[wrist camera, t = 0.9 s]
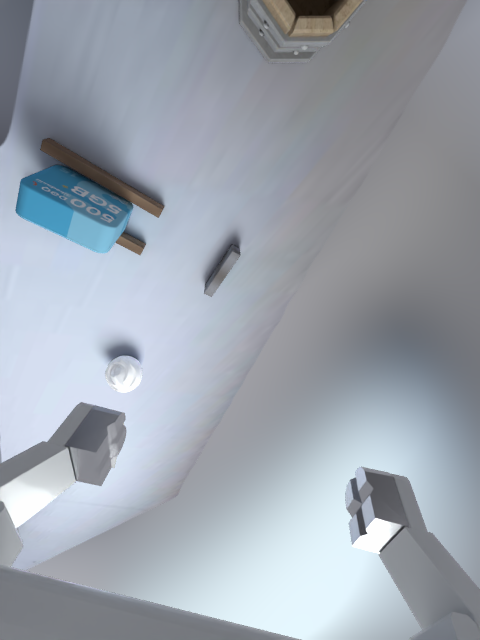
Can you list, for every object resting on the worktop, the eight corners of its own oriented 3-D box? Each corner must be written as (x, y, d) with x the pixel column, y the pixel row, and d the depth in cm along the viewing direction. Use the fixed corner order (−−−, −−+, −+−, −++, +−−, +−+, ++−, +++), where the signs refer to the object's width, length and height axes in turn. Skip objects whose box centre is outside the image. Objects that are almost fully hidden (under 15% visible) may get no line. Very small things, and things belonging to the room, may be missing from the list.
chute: (50, 135, 44) (39, 137, 41) (239, 248, 55) (240, 255, 53) (34, 196, 49) (24, 201, 46) (212, 289, 60) (211, 297, 58)
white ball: (134, 344, 68) (124, 369, 62) (153, 366, 72) (146, 392, 66) (104, 356, 69) (92, 382, 63) (125, 376, 74) (115, 402, 67)
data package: (136, 203, 50) (114, 229, 40) (126, 227, 52) (104, 257, 43) (58, 162, 46) (15, 180, 36) (52, 189, 48) (9, 213, 38)
